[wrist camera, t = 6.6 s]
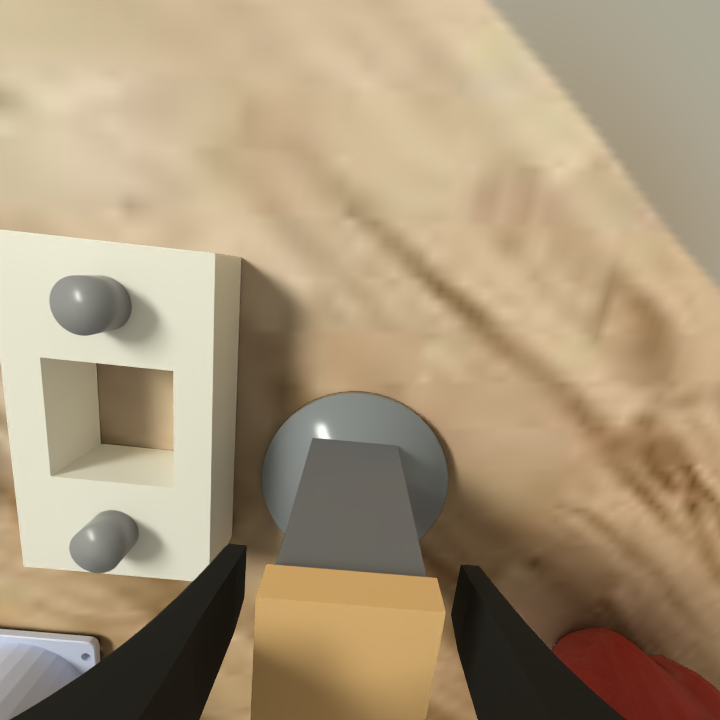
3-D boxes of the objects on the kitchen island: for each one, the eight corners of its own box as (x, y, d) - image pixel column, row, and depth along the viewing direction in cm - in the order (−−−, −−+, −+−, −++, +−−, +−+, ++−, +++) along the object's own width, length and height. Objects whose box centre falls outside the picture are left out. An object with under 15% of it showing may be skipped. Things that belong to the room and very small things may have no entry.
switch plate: (231, 535, 19) (197, 606, 15) (75, 521, 19) (-3, 589, 15) (241, 257, 16) (201, 251, 12) (54, 236, 16) (-52, 223, 12)
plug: (391, 523, 18) (419, 751, 10) (302, 516, 18) (249, 739, 9) (402, 441, 17) (445, 612, 9) (308, 433, 17) (255, 597, 8)
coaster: (430, 561, 20) (433, 570, 19) (260, 546, 19) (257, 554, 19) (459, 401, 18) (462, 405, 17) (269, 381, 17) (266, 385, 17)
